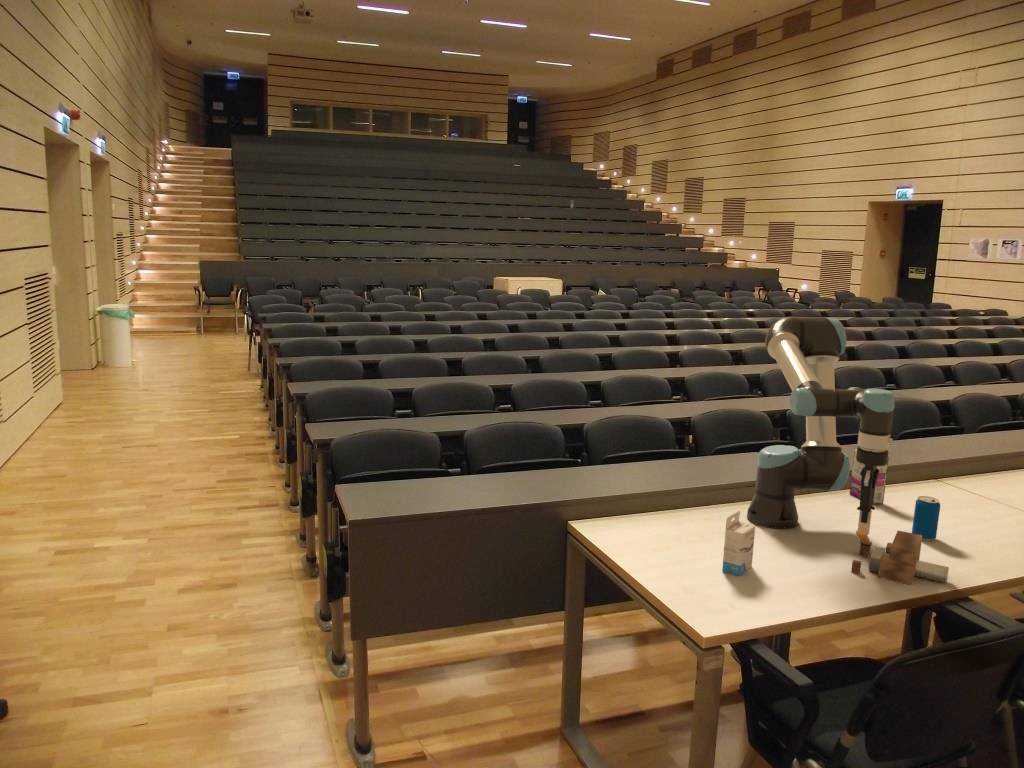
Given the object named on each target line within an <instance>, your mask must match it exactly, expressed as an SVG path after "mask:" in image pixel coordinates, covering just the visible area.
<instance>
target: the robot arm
mask: <svg viewBox="0 0 1024 768" xmlns="http://www.w3.org/2000/svg"><path fill="white" fill-rule="evenodd" d="M764 343H765V349H766V351H767V353H768V355H769V356H770V357H771V358H772V359H774V360H776V364H777V365H778V367H779V368H780V370H781V373H782V374H783V376H784V378H785V380H786V382H787V383H788V386H789V387H790V390H791V394H790V397H789V405H790V410H791V412H792V413H793V414H794V415H796V416H805V433H806V434H805V437H806V441H805V442H804V443H803V444H802V445H801V446H800V447H801V448H800V449H801V451H799V448H798V447H796V446H794V445H785V444H775V445H774V444H773V445H769V446H766V447H764V448H761V450H760V451H759V452H758V456H757V457H758V458H757V461H756V466H757V467H756V477H755V489H754V495H753V497H752V500H751V502H750V504H749V506H748V508H747V511H746V512H747V513H746V518H747V520H749V521H750V522H751V524H752V523H753V524H754V525H757V526H761V527H765V528H769V529H779V530H784V529H785V530H786V529H792V528H795V527H797V526H798V524H799V514H798V510H797V506H796V501H795V493H796V490H800V491H824V492H829V491H840V490H841V489H843V488H844V487H845V485H846V483H847V482H848V479H849V475H850V470H851V463H850V459H849V458H850V457H849V456H848V454H847V453H845V452H843V451H842V449H843V447H842V445H840V443H838V442H837V429H836V428H837V427H836V425H837V424H836V423H837V422H836V418H837V417H838V418H856V419H859V420H860V421H859V430H858V436H857V445H858V447H857V448H856V449H857V455H856V460H857V461H858V462H859V463H863V464H864V465H865V467H863V469H862V470H861V476H862V479H861V494H860V499H859V506H857V508H856V510H857V511H859V516H858V523H857V531H862V532H866V533H867V535H868V536H869V534H870V527H871V520H872V511H874V510H875V509H876V507H875V506H873V505H875V504H874V502H873V501H874V494H875V487H876V484H877V478H878V475H879V469H877V466H884V465H886V464H887V461H888V457H889V451H888V449H889V448H890V443H892V442H893V441H894V440H893V438H892V437H891V432H892V427H893V419H894V410H895V407H896V406H895V400H896V399H895V398H896V397H895V393H894V392H892V391H891V390H887V389H883V388H867V389H864V388H862V387H856V386H854V387H853V386H852V387H849V388H847V389H842V388H841V389H840V388H839V389H837V388H836V387H835V386H836V385H835V384H836V382H835V380H836V379H835V365H836V363H837V362H838V361H840V356H841V355H843V354H844V353H845V350H846V349H847V348H846V345H847V334H846V330H845V327H844V324H843V323H842V322H841V321H840V320H839V319H837V318H833V317H826V316H786V317H783V318H780V319H778V320H777V321H776V322H774V323H773V324H772V325H771V326H770V328H769V329H768V330H767V332H766V335H765V340H764ZM888 462H889V461H888Z"/></svg>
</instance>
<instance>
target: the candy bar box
mask: <svg viewBox="0 0 1024 768" xmlns="http://www.w3.org/2000/svg"><path fill="white" fill-rule="evenodd" d="M853 452H854V453H853V461H852V468H851V469H852V471H851V476H850V477H851V479H850V487H849V495H850V496H852V497H854V498H857V499H858V500H860V494H861V479H862V476H861V470H862V469H863V467H865V465H864V464H863V463H859V462H858V461H857V460H856V455H857V448H856V449H854V451H853ZM889 460H890V457H889V456H888V461H887V464H886V465H884V466H877V469H879V475H878V478H877V484H876V487H875V494H874V501H873V502H874V504H873V505H882V504H883V505H884V499H885V493H886V486H887V485H886V483H887V476H888V469H889V468H888V467H889Z"/></svg>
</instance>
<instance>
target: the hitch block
mask: <svg viewBox="0 0 1024 768" xmlns="http://www.w3.org/2000/svg"><path fill="white" fill-rule="evenodd" d="M922 541H923V540H922V535H918V534H913V533H912V532H909V531H908V532H907V531H902V530H897V531H896V534H895V535H894V539H893V541H892V542H887V544H886V547H885V553H886V554H890V556H888V555H884V554H883V555H882V557H881V560H880V568H879V573H878V576H877V577H878V578H879V579H883V580H888V581H892V582H896V583H901V584H906V585H909V586H913V584H914V582H915V569H916V562H917V560H918V561H920V556H921V549H922ZM871 547H872V546H870V545H866V544H861V543H860V544H859V551H858V552H859V553H858V556H860V555H861V556H860V557H865V558H870V556H871ZM861 568H862V561H861V560H857V559H853V560H852V562H851V569H850V570H851V571H850V573H854V574H858V575H860V573H861V570H862V569H861Z"/></svg>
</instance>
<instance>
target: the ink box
mask: <svg viewBox="0 0 1024 768" xmlns="http://www.w3.org/2000/svg"><path fill="white" fill-rule="evenodd" d="M740 514H741V511H740V510H738V511H736V512H734V513H733V514H731V515H729V516H728V517H727V518H726V522H725V532H724V533H725V534H724V543H723V544H724V546H723V554H722V555H723V557H722V567H721V568H722V569H721V570H722V572H723V573H726V574H727V573H728V574H731V575H734V576H737V577H740V576H741V575H742V574H744V573H745V572H747V571H748V570H749V569H750V568H752V567H753V556H754V543H755V535H756V534H755V533H756V524H752V523H748V522H744V521H740V516H741V515H740ZM733 518H734V519H733Z"/></svg>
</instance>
